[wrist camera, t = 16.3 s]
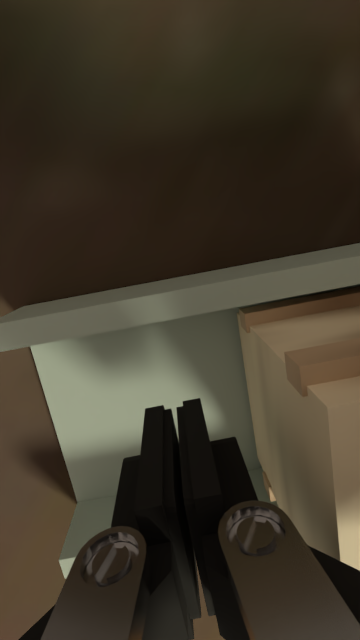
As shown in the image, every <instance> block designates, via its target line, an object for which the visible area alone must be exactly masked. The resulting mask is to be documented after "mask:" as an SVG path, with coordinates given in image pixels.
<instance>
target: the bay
mask: <svg viewBox="0 0 360 640" xmlns="http://www.w3.org/2000/svg"><path fill="white" fill-rule="evenodd" d="M357 286H360V243H357V244H351V245H346V246H341V247H335V248H330V249H325V250H319V251H314V252H309V253H304V254H298V255H293V256H288V257H282V258H277V259H272V260H266V261H261V262H256V263H250V264H245V265H240V266H235V267H229V268H224V269H219V270H213V271H208V272H203V273H197V274H192V275H187V276H181V277H176V278H171V279H166V280H160V281H155V282H150V283H144V284H139V285H134V286H128V287H123V288H118V289H112V290H107V291H102V292H97V293H91V294H86V295H81V296H75V297H70V298H65V299H59V300H54V301H49V302H43V303H38V304H33V305H27V306H23V307H21V308H19V309H17V310H15V311H13V312H11V313H9V314H7V315H5V316H3V317H0V352H2V351H7V350H13V349H18V348H23V347H29V346H30V348H31V351H32V354H33V357H34V361H35V364H36V367H37V371H38V374H39V377H40V380H41V384H42V387H43V390H44V394H45V397H46V400H47V404H48V407H49V410H50V413H51V417H52V420H53V423H54V427H55V430H56V433H57V437H58V440H59V443H60V446H61V450H62V453H63V456H64V460H65V463H66V466H67V469H68V473H69V476H70V479H71V483H72V486H73V489H74V493H75V496H76V499H77V502H78V503H77V506H76V509H75V512H74V515H73V518H72V521H71V524H70V527H69V530H68V533H67V537H66V540H65V543H64V546H63V549H62V552H61V555H60V558H59V562H60V565H61V568H62V571H63V574H64V577H65V578H67V576H68V574H69V572H70V569H71V567H72V564H73V562H74V560H75V558H76V556H77V554H78V553H79V551H80V549H81V548H82V547H83V546H84V545H85V544H86V543H87V542H88V540H90V539H91V538H92V537H94V536H95V535H97V534H98V533H100V532H102V531H104V530H106V529H108V528H111V522H112V517H113V511H114V506H115V501H116V495H117V490H118V484H119V479H120V473H121V468H122V462H123V459H124V458H126V457H132V456H137V455H140V452H141V442H142V433H143V424H144V415H145V408H151V407H156V406H161V405H164V408H165V409H171V410H172V414H173V419H174V423H175V428H176V433H177V437H178V442H179V436H178V422H177V409H176V407H181V406H183V401H187V400H192V399H197V398H200V400H201V404H202V408H203V413H204V417H205V422H206V426H207V431H208V435H209V439H210V441H214V440H219V439H224V438H229V437H236V439H237V442H238V445H239V448H240V450H241V453H242V456H243V459H244V461H245V464H246V467H247V470H248V473H249V475H250V478H251V481H252V484H253V486H254V489H255V492H256V495H257V498H258V500H259V501H264V502H268V503H271V504H274V505H275V506H277V507H279V506H278V504H277V502H276V501H272V502H271V501H270V499H269V496H268V494H267V491H266V489H265V486H264V481H263V474H262V472H264V471H263V469H262V466H261V464H260V462H259V459H258V456H257V450H256V443H255V436H254V429H253V422H252V415H251V409H250V402H249V395H248V388H247V381H246V374H245V368H244V361H243V354H242V347H241V340H240V333H239V326H238V320H237V313H238V312H239V309H240V308H245V307H251V306H256V305H261V304H267V303H272V302H277V301H283V300H288V299H293V298H298V297H304V296H309V295H314V294H320V293H325V292H330V291H336V290H341V289H346V288H351V287H357Z"/></svg>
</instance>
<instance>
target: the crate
mask: <svg viewBox="0 0 360 640" xmlns="http://www.w3.org/2000/svg"><path fill="white" fill-rule="evenodd" d="M237 320H238V326H239V333H240V340H241V347H242V354H243V361H244V368H245V374H246V381H247V388H248V395H249V402H250V409H251V415H252V422H253V429H254V436H255V443H256V450H257V456H258V459H259V462H260V464H261V466H262V469H263V471H264V472H262V474H263V481H264V486H265V489H266V491H267V494H268V496H269V499H270V501H271V502H272V501H276V502H277V504H278V506H279V508H280V509H282V510H283V511H284V512H285V513H286V514H287V516H288V517H289V518H290V519H291V521H292V522H293V524H294V525H295V527H296V528H297V530H298V531H299V533H300V534H301V536H302V538H303V539H304V541H305V542H306V544H307V545H308V546H310V547H312V548H315V549H317V550H319V551H321V552H323V553H325V554H327V555H329V556H331V557H333V558H335V559H337V560H339V561H341V562H343V563H345V564H347V565H349V566H351V567H353V568H355V569H357V570H359V571H360V286H357V287H351V288H346V289H341V290H336V291H330V292H325V293H320V294H314V295H309V296H304V297H298V298H293V299H288V300H283V301H277V302H272V303H267V304H261V305H256V306H251V307H245V308H240V309H239V312H238V313H237Z"/></svg>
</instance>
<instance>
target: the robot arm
mask: <svg viewBox="0 0 360 640" xmlns="http://www.w3.org/2000/svg"><path fill="white" fill-rule="evenodd" d="M176 409H177V422H178V436H179V442H178V437H177V433H176V428H175V423H174V419H173V414H172V410H171V409H165V408H164V405H161V406H156V407H151V408H145V415H144V424H143V433H142V442H141V452H140V455H137V456H132V457H126V458H124V459H123V462H122V468H121V473H120V479H119V484H118V490H117V495H116V501H115V506H114V511H113V517H112V522H111V528H108V529H106V530H104V531H102V532H100V533H98V534H97V535H95V536H94V537H92V538H91V539H90V540H88V542H87V543H86V544H85V545H84V546H83V547H82V548H81V549H80V551H79V553H78V554H77V556H76V558H75V560H74V562H73V564H72V567H71V569H70V572H69V574H68V576H67V579H66V581H65V583H64V586H63V588H62V590H61V593H60V595H59V597H58V600H57V602H56V604H55V605H54V606H53V607H52V608H51V609H50V610H49V611H48V612H47V613H46V614H45V615H44V616H43V617H42V618H41V619H40V620H39V621H38V622H37V623H36V624H34V625H33V626H32V627H31V628H30V629H29V630H28V631H27V632H26V633H25V634H24V635H23V636H22V637H21V638H20V639H19V640H191V639H194V631H193V619H197V618H201V607H200V597H199V587H198V577H197V567H196V561H197V566H198V570H199V575H200V579H201V584H202V588H203V593H204V597H205V602H206V607H207V611H208V615H209V616H212V615H216V618H217V622H218V627H219V632H220V635H221V636H222V637H223V638H224V639H226V640H360V571H359V570H357V569H355V568H353V567H351V566H349V565H347V564H345V563H343V562H341V561H339V560H337V559H335V558H333V557H331V556H329V555H327V554H325V553H323V552H321V551H319V550H317V549H315V548H312V547H310V546H308V545H307V544H306V542H305V541H304V539H303V538H302V536H301V534H300V533H299V531H298V530H297V528H296V527H295V525H294V524H293V522H292V521H291V519H290V518H289V517H288V516H287V514H286V513H285V512H284V511H283V510H282V509H280V508H279V507H277V506H275V505H274V504H271V503H268V502H264V501H259V500H258V498H257V495H256V492H255V489H254V486H253V484H252V481H251V478H250V475H249V473H248V470H247V467H246V464H245V461H244V459H243V456H242V453H241V450H240V448H239V445H238V442H237V439H236V437H229V438H224V439H219V440H214V441H210V439H209V435H208V431H207V426H206V422H205V417H204V413H203V408H202V404H201V400H200V398H197V399H192V400H187V401H183V406H181V407H176Z"/></svg>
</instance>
